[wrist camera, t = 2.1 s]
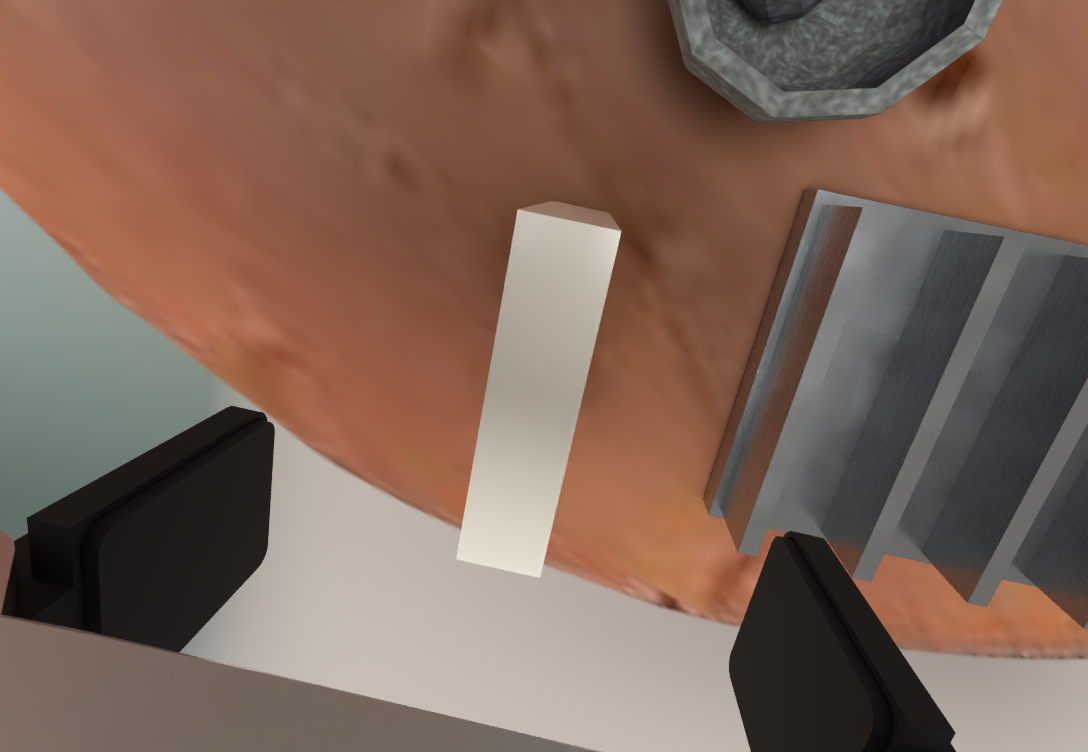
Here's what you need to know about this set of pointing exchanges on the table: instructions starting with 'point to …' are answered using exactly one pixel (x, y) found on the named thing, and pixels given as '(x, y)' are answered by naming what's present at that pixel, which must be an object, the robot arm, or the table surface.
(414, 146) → the table surface
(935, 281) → the rack
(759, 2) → the mortar and pestle
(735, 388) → the table surface
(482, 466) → the white flat block
